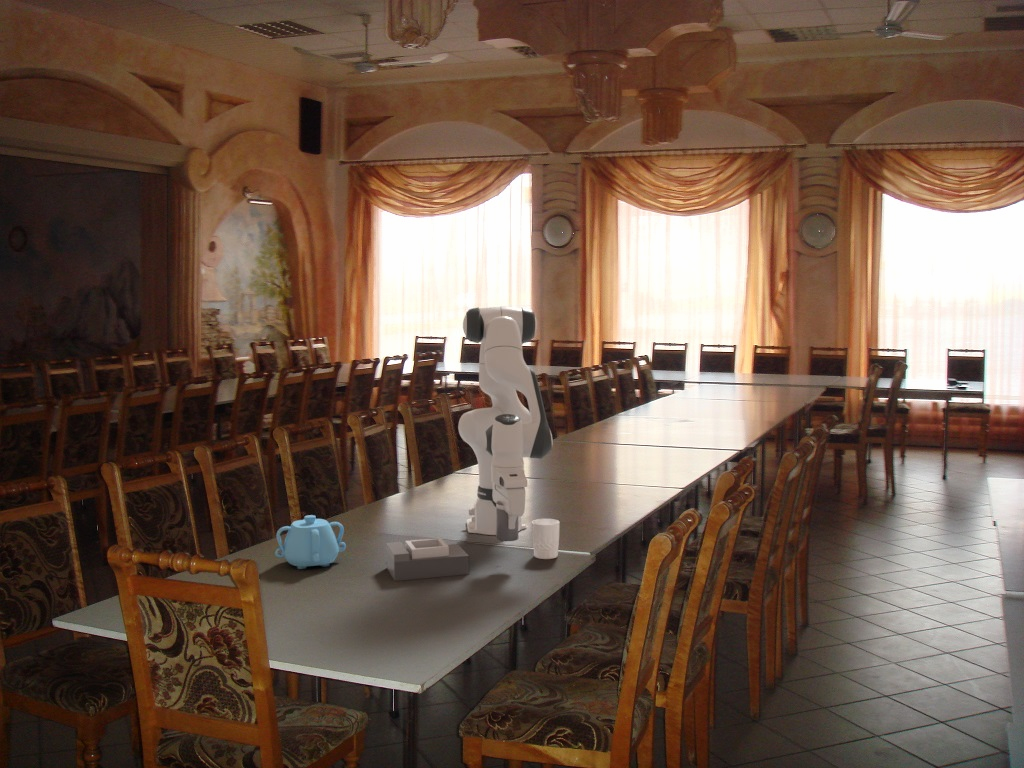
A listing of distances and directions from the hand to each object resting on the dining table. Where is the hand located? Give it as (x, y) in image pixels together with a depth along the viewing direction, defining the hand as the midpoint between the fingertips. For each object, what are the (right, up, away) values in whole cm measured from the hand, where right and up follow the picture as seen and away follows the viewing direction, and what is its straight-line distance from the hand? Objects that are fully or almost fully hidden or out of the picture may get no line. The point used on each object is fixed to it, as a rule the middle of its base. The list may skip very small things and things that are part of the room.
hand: (507, 525), depth 276 cm
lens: (0, -4, 0) cm, 4 cm away
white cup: (+11, -11, +12) cm, 19 cm away
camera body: (-22, -12, -2) cm, 25 cm away
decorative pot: (-55, -12, +7) cm, 57 cm away
